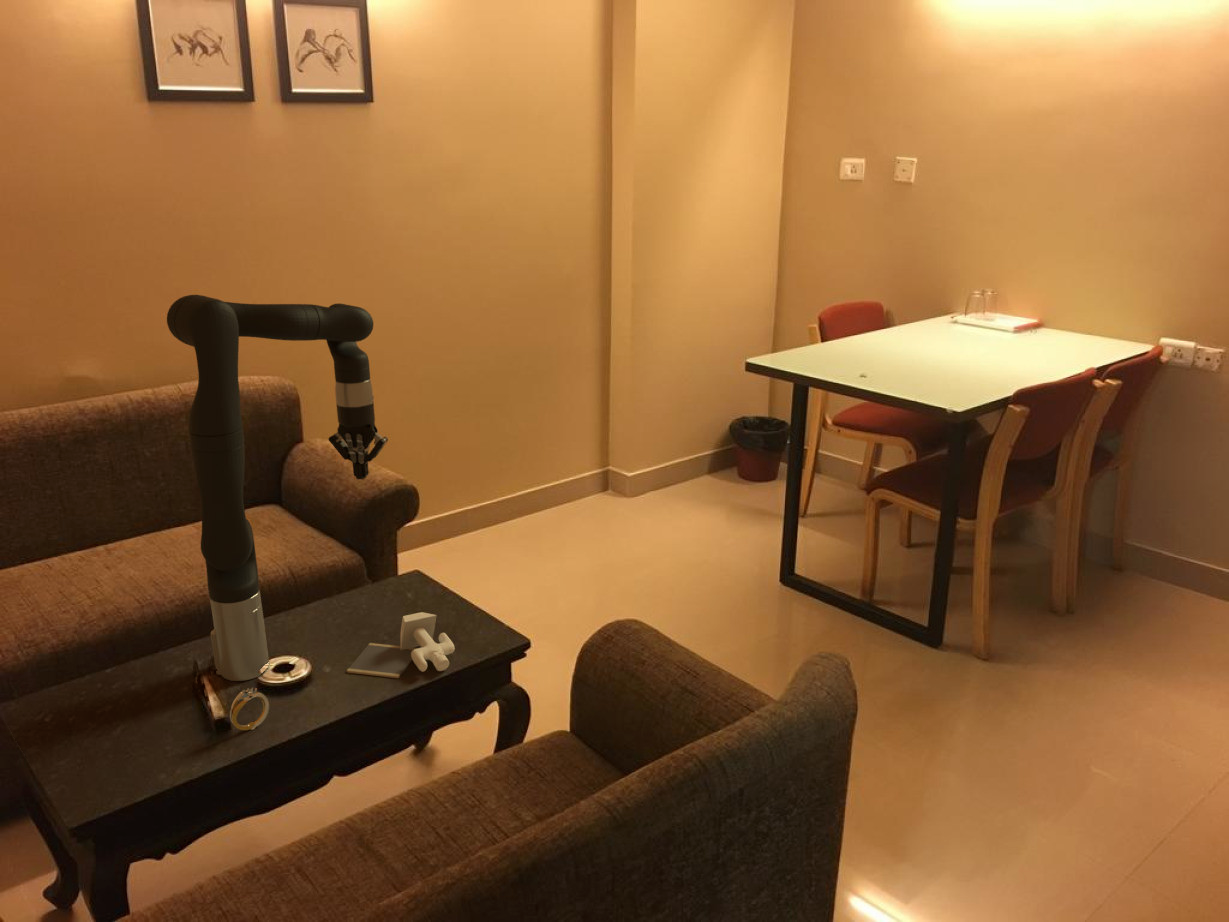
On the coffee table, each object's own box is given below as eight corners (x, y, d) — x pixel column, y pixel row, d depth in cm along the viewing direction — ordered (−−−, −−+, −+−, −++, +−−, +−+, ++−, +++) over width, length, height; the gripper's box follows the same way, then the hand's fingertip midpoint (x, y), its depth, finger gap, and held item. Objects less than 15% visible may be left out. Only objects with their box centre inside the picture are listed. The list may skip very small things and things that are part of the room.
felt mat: (346, 672, 196) (346, 670, 196) (370, 644, 206) (369, 642, 206) (398, 678, 194) (398, 676, 194) (419, 650, 204) (419, 648, 204)
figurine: (429, 631, 210) (461, 674, 200) (388, 641, 204) (420, 685, 194) (433, 604, 207) (467, 646, 197) (392, 613, 201) (424, 656, 191)
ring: (266, 717, 181) (261, 679, 179) (274, 724, 179) (269, 687, 177) (229, 732, 177) (224, 694, 174) (237, 740, 175) (231, 701, 172)
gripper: (316, 403, 201) (324, 482, 207) (377, 407, 199) (383, 486, 205) (333, 393, 208) (340, 470, 214) (391, 397, 206) (397, 474, 212)
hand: (361, 478), depth 209 cm, fingers closed
